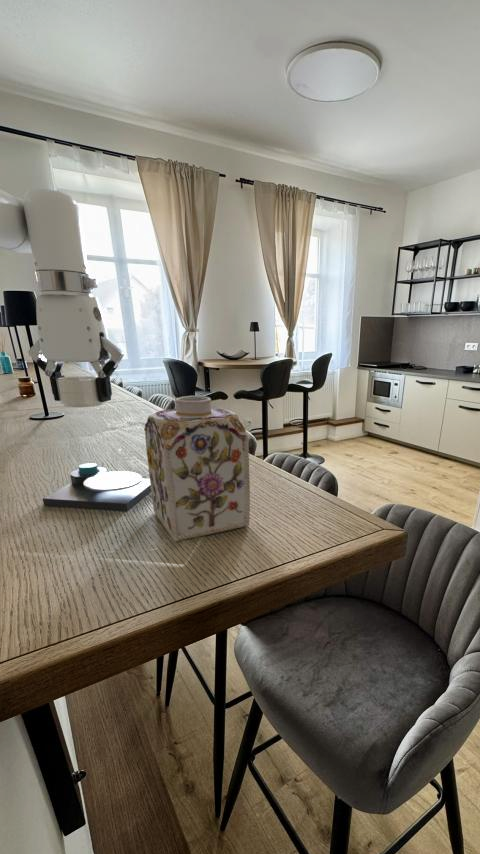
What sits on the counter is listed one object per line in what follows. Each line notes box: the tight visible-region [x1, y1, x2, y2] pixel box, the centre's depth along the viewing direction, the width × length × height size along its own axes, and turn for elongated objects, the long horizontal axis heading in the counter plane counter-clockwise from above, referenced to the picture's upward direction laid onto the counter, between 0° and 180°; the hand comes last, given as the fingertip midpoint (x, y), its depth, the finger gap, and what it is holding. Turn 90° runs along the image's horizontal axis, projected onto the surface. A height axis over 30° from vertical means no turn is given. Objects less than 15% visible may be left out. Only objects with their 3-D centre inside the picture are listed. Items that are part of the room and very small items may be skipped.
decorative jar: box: [143, 395, 251, 543], centre depth 59 cm, size 12×12×18 cm
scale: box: [42, 466, 151, 513], centre depth 70 cm, size 14×12×3 cm
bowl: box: [56, 375, 104, 409], centre depth 71 cm, size 7×7×4 cm
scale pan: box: [83, 471, 143, 491], centre depth 68 cm, size 9×9×1 cm
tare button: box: [78, 462, 98, 475], centre depth 73 cm, size 3×3×2 cm
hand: (83, 399), depth 72 cm, fingers closed on bowl, 7 cm apart
